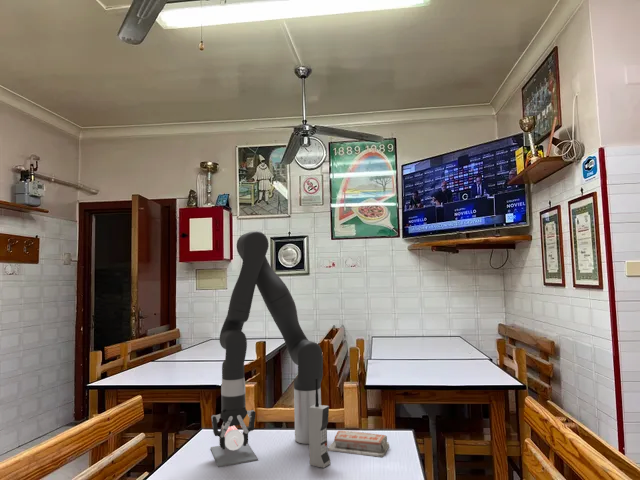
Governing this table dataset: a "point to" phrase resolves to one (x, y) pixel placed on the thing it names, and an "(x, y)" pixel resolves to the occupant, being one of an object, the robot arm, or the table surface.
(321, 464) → the vintage mobile phone
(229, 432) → the beverage cup
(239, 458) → the mat
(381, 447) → the packaged product
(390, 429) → the table surface
